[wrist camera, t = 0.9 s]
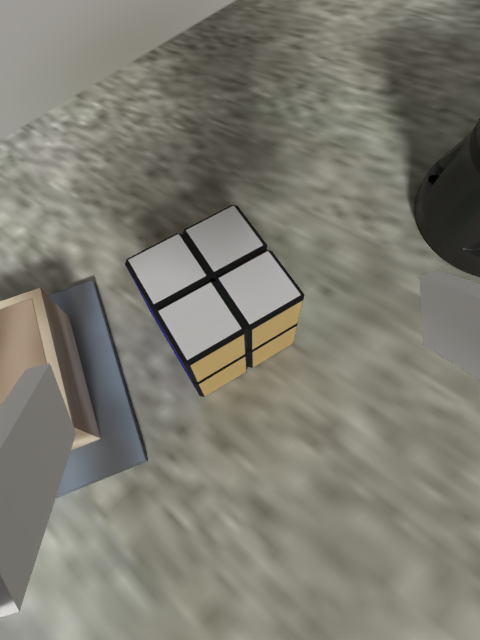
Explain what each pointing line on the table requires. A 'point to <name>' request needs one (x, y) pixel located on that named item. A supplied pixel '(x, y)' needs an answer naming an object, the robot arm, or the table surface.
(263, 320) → the puzzle cube
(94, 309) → the stacking base
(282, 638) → the table surface
